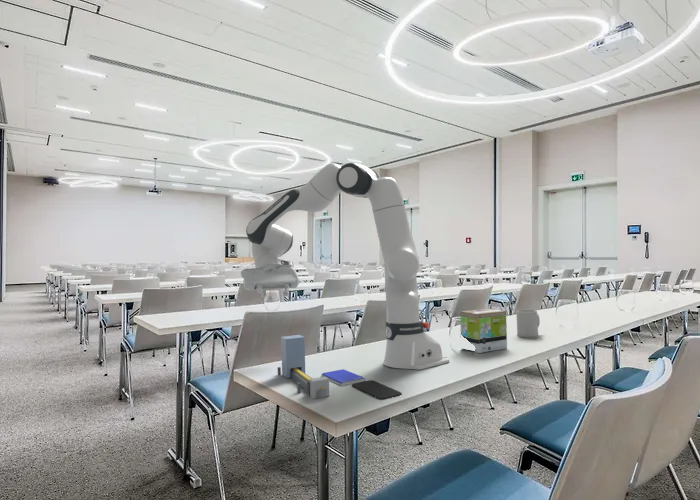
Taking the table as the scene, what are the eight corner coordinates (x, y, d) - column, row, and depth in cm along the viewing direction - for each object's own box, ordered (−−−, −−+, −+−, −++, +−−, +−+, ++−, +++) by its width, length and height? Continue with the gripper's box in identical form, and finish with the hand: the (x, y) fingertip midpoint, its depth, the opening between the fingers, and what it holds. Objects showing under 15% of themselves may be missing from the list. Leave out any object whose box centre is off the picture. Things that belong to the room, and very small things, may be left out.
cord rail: (302, 370, 135) (302, 357, 135) (336, 394, 109) (335, 377, 109) (277, 374, 131) (276, 360, 131) (306, 399, 106) (305, 382, 106)
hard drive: (365, 377, 121) (344, 368, 132) (341, 382, 117) (321, 372, 128) (365, 382, 121) (344, 373, 132) (341, 387, 117) (321, 378, 127)
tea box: (480, 354, 150) (479, 313, 151) (460, 349, 159) (458, 311, 159) (508, 348, 158) (506, 309, 158) (487, 344, 166) (486, 307, 167)
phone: (380, 398, 104) (350, 384, 117) (380, 402, 104) (350, 387, 117) (403, 393, 107) (372, 379, 120) (403, 396, 107) (372, 382, 120)
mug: (529, 338, 176) (528, 312, 176) (513, 335, 184) (512, 310, 184) (547, 335, 182) (546, 310, 182) (530, 332, 189) (529, 308, 190)
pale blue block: (300, 371, 133) (299, 334, 133) (305, 375, 128) (304, 337, 128) (282, 374, 130) (281, 336, 130) (286, 378, 126) (285, 339, 126)
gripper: (241, 263, 150) (247, 291, 141) (295, 261, 159) (304, 288, 150) (239, 275, 154) (244, 303, 145) (291, 273, 163) (300, 300, 154)
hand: (275, 295), depth 147 cm, fingers open, 7 cm apart
